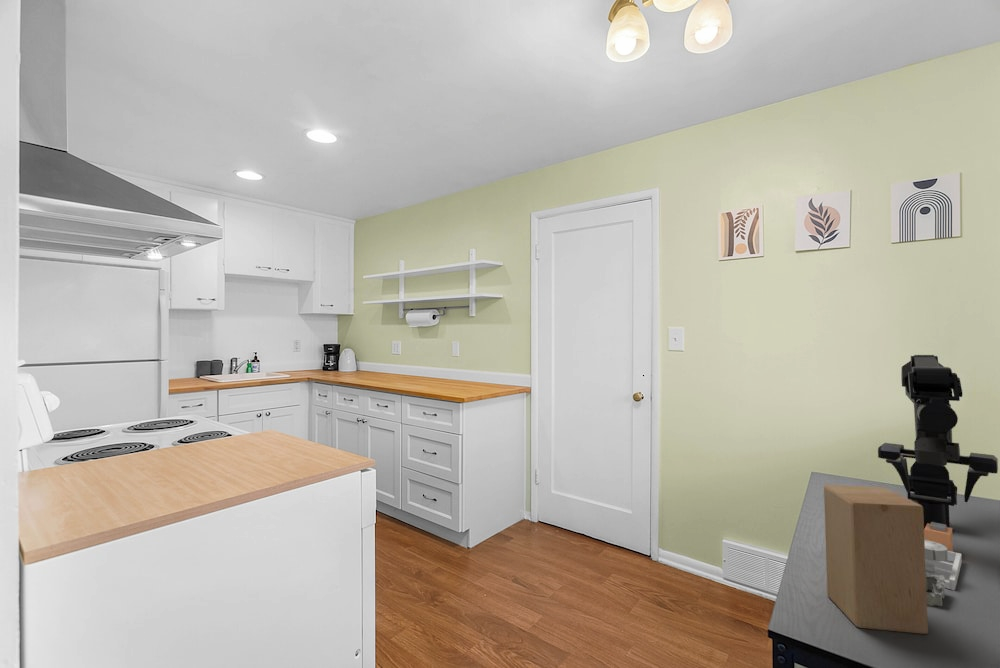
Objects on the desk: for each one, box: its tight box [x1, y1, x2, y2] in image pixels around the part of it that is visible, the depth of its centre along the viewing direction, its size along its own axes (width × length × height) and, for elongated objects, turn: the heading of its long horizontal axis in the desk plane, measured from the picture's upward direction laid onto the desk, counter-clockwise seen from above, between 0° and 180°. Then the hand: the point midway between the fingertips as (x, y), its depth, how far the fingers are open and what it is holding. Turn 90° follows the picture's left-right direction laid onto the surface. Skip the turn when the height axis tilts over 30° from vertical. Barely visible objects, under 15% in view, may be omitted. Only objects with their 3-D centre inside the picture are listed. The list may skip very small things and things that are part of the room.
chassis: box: [925, 551, 963, 591], centre depth 93 cm, size 16×8×2 cm, turn 132°
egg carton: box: [926, 574, 945, 607], centre depth 85 cm, size 11×8×4 cm
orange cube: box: [924, 522, 954, 552], centre depth 101 cm, size 5×4×6 cm
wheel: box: [924, 539, 948, 562], centre depth 90 cm, size 5×5×2 cm
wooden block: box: [823, 484, 929, 635], centre depth 78 cm, size 10×10×20 cm
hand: (936, 496), depth 101 cm, fingers open, 9 cm apart
